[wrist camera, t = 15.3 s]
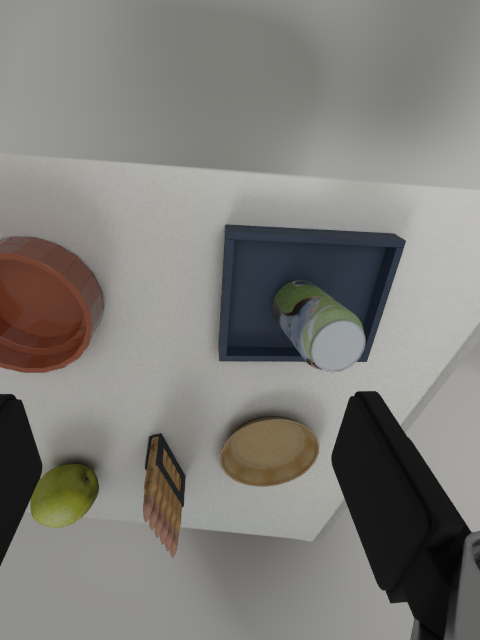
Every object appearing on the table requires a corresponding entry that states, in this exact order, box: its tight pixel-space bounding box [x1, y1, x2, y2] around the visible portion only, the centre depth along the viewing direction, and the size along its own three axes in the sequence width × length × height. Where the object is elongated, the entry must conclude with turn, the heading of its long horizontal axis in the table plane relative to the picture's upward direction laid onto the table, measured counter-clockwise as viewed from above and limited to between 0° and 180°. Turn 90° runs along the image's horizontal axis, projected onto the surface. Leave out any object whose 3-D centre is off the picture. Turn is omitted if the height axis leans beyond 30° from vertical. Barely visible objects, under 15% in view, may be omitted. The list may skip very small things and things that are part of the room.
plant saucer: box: [220, 417, 319, 487], centre depth 51 cm, size 15×15×3 cm
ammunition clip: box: [143, 434, 185, 557], centre depth 47 cm, size 11×2×12 cm, turn 15°
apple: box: [31, 464, 99, 528], centre depth 48 cm, size 8×9×8 cm
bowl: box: [0, 237, 104, 373], centre depth 35 cm, size 13×13×5 cm
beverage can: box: [272, 280, 365, 372], centre depth 35 cm, size 6×7×12 cm
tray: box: [218, 225, 406, 362], centre depth 39 cm, size 16×19×3 cm
